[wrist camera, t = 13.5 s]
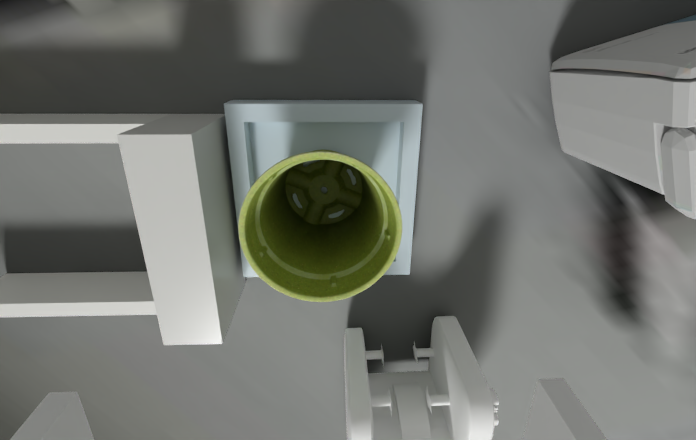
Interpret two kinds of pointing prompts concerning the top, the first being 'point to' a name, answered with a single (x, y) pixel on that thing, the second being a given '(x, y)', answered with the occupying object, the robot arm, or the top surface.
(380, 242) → the plant pot
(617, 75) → the stereo radio cassette player
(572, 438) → the robot arm
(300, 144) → the tray
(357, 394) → the cable organizer
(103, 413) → the top surface
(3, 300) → the bay
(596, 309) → the top surface
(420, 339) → the top surface
